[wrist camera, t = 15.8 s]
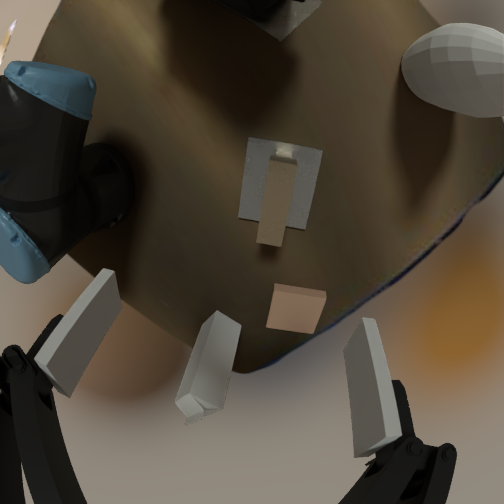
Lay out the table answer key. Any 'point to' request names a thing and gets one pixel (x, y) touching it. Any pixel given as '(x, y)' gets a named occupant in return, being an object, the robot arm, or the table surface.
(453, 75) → the bottle
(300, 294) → the tile
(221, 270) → the table surface
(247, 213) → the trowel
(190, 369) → the milk
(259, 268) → the table surface
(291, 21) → the shoulder bag
